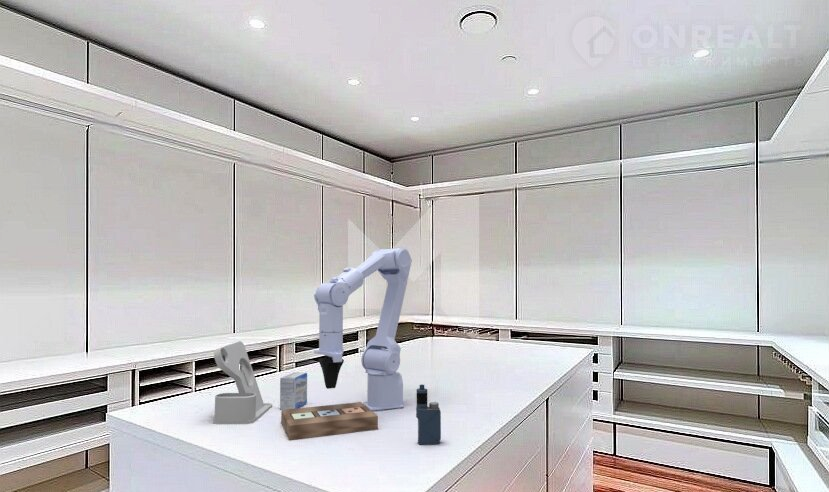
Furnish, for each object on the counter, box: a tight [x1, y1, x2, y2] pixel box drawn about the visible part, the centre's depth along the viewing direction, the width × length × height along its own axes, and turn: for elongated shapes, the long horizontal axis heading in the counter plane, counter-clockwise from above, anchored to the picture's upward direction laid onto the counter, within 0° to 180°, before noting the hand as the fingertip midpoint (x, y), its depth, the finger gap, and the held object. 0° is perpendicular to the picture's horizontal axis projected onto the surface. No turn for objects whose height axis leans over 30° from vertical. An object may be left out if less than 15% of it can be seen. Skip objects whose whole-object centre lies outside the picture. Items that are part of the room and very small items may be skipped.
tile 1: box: [291, 412, 314, 420], centre depth 109 cm, size 5×5×2 cm
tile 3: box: [317, 410, 340, 417], centre depth 112 cm, size 5×5×2 cm
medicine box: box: [279, 371, 308, 410], centre depth 129 cm, size 8×4×9 cm, turn 168°
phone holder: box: [212, 340, 273, 425], centre depth 122 cm, size 17×10×18 cm, turn 0°
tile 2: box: [341, 407, 365, 414], centre depth 114 cm, size 5×5×2 cm
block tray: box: [280, 401, 379, 441], centre depth 112 cm, size 20×14×3 cm
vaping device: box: [415, 384, 442, 446], centre depth 100 cm, size 3×5×12 cm, turn 95°
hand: (330, 387), depth 115 cm, fingers closed
